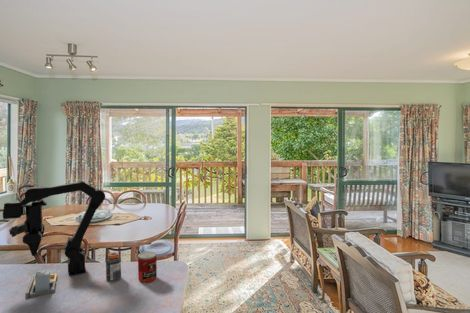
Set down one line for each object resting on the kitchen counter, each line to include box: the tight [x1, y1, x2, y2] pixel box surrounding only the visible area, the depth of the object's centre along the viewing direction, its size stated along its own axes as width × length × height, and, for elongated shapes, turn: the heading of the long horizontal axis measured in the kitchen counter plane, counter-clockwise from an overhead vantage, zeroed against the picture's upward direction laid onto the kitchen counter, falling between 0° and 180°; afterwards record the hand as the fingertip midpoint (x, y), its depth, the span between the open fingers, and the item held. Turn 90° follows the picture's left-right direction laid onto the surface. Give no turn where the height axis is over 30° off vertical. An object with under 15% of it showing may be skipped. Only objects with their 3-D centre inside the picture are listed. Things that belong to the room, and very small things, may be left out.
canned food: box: [137, 250, 158, 284], centre depth 126 cm, size 8×8×11 cm
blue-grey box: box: [34, 269, 51, 293], centre depth 116 cm, size 4×4×8 cm
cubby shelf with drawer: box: [25, 273, 58, 299], centre depth 119 cm, size 9×16×2 cm, turn 28°
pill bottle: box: [105, 251, 122, 283], centre depth 126 cm, size 6×6×11 cm
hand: (34, 252), depth 125 cm, fingers open, 9 cm apart
